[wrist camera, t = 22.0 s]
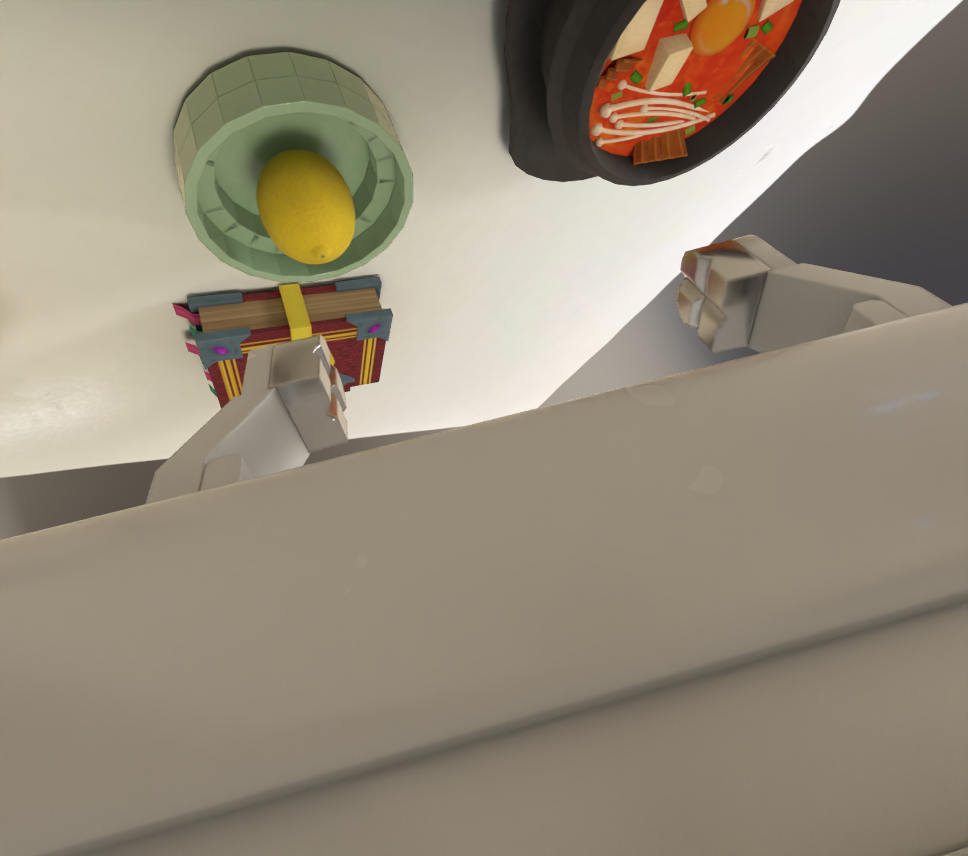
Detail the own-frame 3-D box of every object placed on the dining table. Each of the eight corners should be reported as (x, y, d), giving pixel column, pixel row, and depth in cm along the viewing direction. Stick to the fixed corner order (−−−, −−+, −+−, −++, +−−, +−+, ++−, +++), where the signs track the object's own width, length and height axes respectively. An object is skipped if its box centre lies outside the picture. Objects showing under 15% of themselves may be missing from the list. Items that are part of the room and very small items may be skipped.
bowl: (388, 34, 30) (413, 87, 28) (395, 216, 42) (413, 260, 40) (128, 60, 27) (139, 121, 25) (216, 249, 39) (228, 299, 37)
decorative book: (368, 348, 57) (382, 388, 55) (198, 374, 51) (208, 421, 49) (378, 272, 47) (395, 319, 45) (169, 294, 41) (179, 349, 39)
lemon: (351, 171, 36) (385, 262, 34) (280, 209, 37) (307, 301, 34) (305, 102, 31) (341, 203, 28) (224, 148, 32) (251, 250, 29)
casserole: (642, 166, 47) (689, 239, 44) (444, 162, 39) (485, 250, 36) (928, -284, 26) (1053, -202, 23) (624, -488, 18) (756, -404, 15)
